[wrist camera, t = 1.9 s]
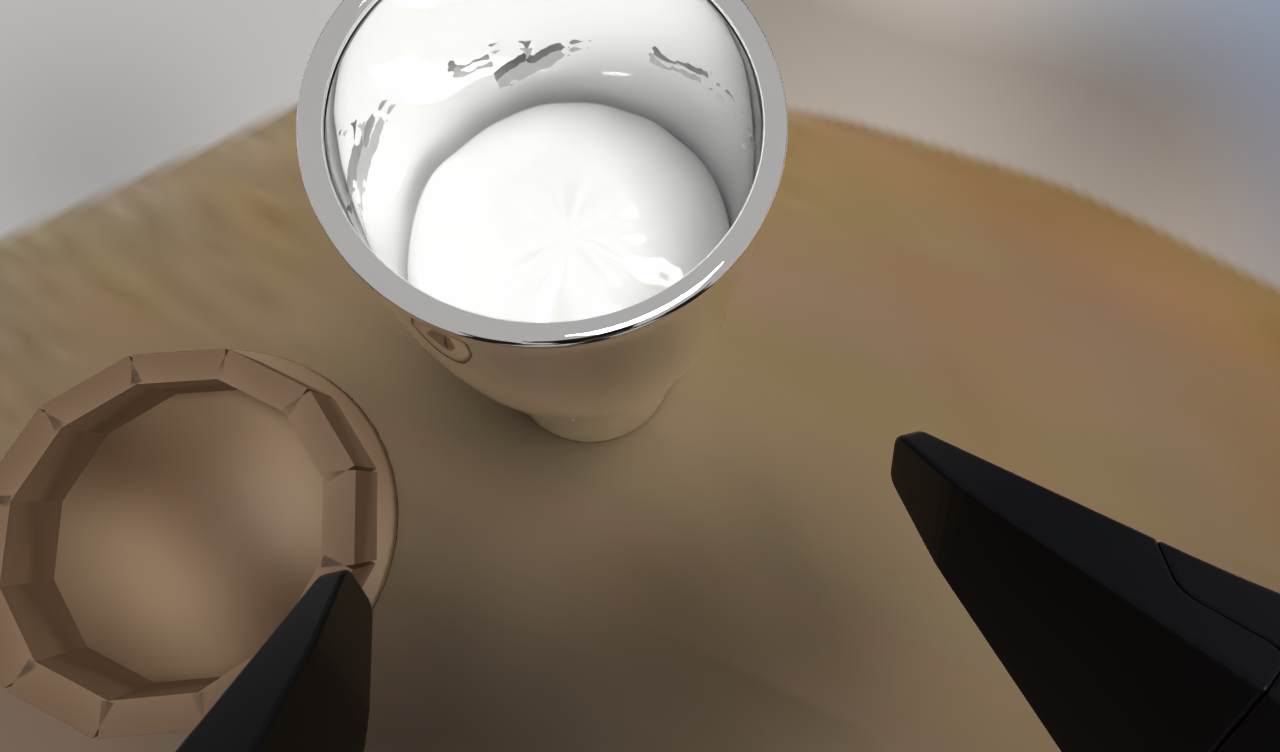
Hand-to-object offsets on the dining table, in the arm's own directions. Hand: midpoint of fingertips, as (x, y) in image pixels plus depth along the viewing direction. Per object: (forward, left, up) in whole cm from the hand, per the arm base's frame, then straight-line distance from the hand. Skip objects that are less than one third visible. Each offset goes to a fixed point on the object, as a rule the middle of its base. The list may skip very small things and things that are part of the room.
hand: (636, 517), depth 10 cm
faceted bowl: (-7, +13, -12) cm, 19 cm away
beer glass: (+4, +4, -12) cm, 14 cm away
